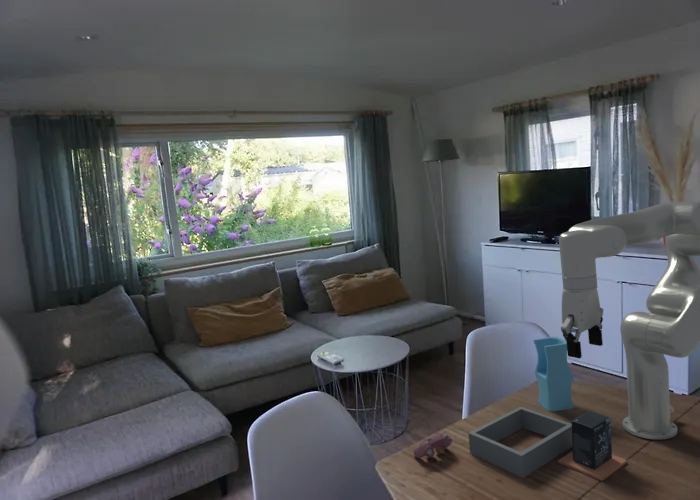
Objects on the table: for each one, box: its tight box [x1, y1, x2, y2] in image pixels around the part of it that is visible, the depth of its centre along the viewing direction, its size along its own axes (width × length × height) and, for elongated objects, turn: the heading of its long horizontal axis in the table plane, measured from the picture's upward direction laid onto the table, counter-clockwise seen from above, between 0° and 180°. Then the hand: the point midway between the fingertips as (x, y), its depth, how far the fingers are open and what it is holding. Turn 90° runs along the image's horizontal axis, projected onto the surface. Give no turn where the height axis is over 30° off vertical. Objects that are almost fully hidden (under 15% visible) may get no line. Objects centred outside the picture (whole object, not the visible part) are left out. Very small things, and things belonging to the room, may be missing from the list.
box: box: [571, 410, 613, 470], centre depth 122 cm, size 8×6×11 cm
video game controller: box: [413, 432, 453, 459], centre depth 134 cm, size 10×5×7 cm, turn 118°
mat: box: [557, 450, 628, 481], centre depth 123 cm, size 11×11×1 cm
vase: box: [532, 336, 575, 412], centre depth 154 cm, size 8×8×20 cm
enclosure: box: [468, 406, 573, 479], centre depth 132 cm, size 21×16×6 cm
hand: (585, 350), depth 124 cm, fingers open, 9 cm apart
